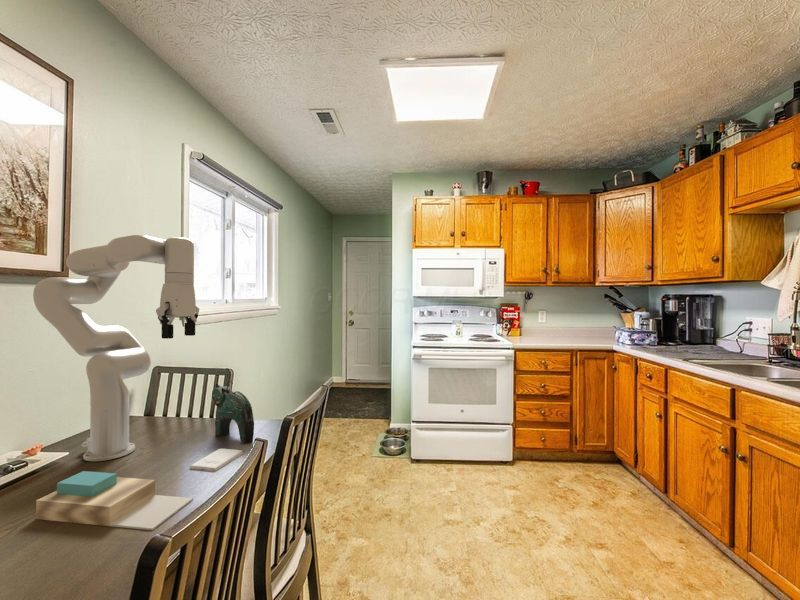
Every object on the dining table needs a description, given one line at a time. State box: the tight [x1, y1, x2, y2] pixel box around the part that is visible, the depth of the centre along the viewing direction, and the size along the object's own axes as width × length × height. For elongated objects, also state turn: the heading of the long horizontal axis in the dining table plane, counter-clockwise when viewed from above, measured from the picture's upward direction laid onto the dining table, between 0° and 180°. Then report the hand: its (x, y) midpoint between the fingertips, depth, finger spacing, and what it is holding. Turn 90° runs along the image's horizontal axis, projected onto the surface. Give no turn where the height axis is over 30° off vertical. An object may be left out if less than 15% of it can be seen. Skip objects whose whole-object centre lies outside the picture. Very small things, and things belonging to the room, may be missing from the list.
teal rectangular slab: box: [56, 470, 118, 497], centre depth 86 cm, size 9×6×2 cm, turn 82°
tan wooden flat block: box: [35, 476, 156, 527], centre depth 85 cm, size 18×12×4 cm, turn 82°
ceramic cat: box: [211, 379, 255, 446], centre depth 129 cm, size 20×6×20 cm, turn 55°
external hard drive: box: [189, 448, 243, 472], centre depth 110 cm, size 2×8×12 cm
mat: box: [109, 494, 194, 531], centre depth 83 cm, size 10×12×1 cm
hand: (179, 336), depth 112 cm, fingers open, 9 cm apart
